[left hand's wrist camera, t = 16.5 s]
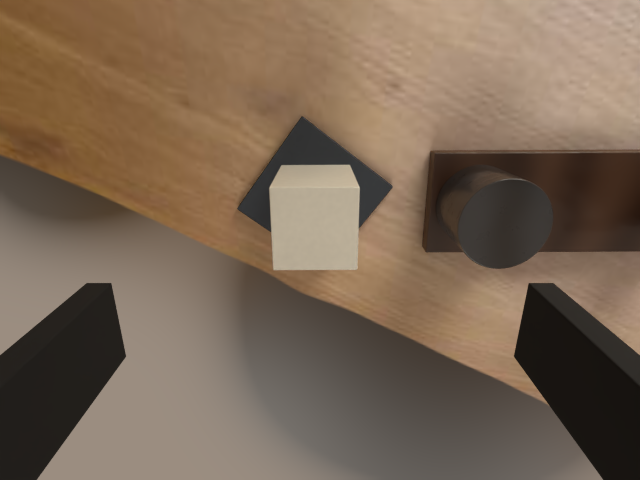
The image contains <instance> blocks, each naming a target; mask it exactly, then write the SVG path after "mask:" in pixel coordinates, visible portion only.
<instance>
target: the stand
mask: <svg viewBox="0 0 640 480" xmlns="http://www.w3.org/2000/svg"><path fill="white" fill-rule="evenodd" d="M422 247H423V248H424V250H425V251H426V252H464V253H465V254H466V255H467V256H468V257H469V258H470V259H471V260H472V261H474V262H475V263H477V264H479V265H481V266H484V267H488V268H496V269H501V268H509V267H513V266H516V265H518V264H521V263H523V262H525V261H527V260H528V259H530V258H531V257H532V256H534V255H535V254H536V253H537V252H602V251H640V150H461V151H431V153H430V164H429V176H428V187H427V198H426V210H425V221H424V233H423V244H422Z"/></svg>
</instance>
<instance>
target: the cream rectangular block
mask: <svg viewBox="0 0 640 480" xmlns="http://www.w3.org/2000/svg"><path fill="white" fill-rule="evenodd" d="M269 195H270V216H271V237H272V258H273V270H357V263H358V229H359V196H360V187H359V185H358V183H357V180H356V178H355V176H354V173H353V171H352V169H351V166H350V165H281V167H280V169H279V171H278V173H277V174H276V176H275V178H274V180H273V182H272V184H271V186H270V187H269Z"/></svg>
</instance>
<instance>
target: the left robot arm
mask: <svg viewBox="0 0 640 480" xmlns="http://www.w3.org/2000/svg"><path fill="white" fill-rule="evenodd" d="M125 357H126V354H125V349H124V344H123V339H122V334H121V329H120V325H119V319H118V315H117V310H116V305H115V300H114V295H113V290H112V285H111V283H87V284H85V285H84V286H83V287H82V288H80V289H79V290H78V291H77V292H76V293H75V294H73V295H72V296H71V297H70V298H68V299H67V300H66V301H65V302H64V303H62V304H61V305H60V306H59V307H58V308H56V309H55V310H54V311H53V312H52V313H50V314H49V315H48V316H47V317H46V318H44V319H43V320H42V321H41V322H40V323H38V324H37V325H36V326H35V327H34V328H33V329H31V330H30V331H29V332H28V333H26V334H25V335H24V336H23V337H22V338H20V339H19V340H18V341H17V342H16V343H15V344H13V345H12V346H11V347H10V348H9V349H7V350H6V351H5V352H4V353H2V354H1V355H0V480H37V479H38V477H39V476H40V474H41V473H42V472H43V470H44V469H45V467H46V466H47V465H48V463H49V462H50V461H51V459H52V458H53V456H54V455H55V454H56V452H57V451H58V450H59V448H60V447H61V445H62V444H63V443H64V441H65V440H66V439H67V437H68V436H69V434H70V433H71V432H72V430H73V429H74V427H75V426H76V425H77V423H78V422H79V421H80V419H81V418H82V416H83V415H84V414H85V412H86V411H87V410H88V408H89V407H90V405H91V404H92V403H93V401H94V400H95V399H96V397H97V396H98V394H99V393H100V392H101V390H102V389H103V387H104V386H105V385H106V383H107V382H108V381H109V379H110V378H111V376H112V375H113V374H114V372H115V371H116V370H117V368H118V367H119V365H120V364H121V363H122V361H123V360H124V359H125ZM514 357H515V359H516V360H517V361H518V363H519V364H520V365H521V367H522V368H523V370H524V371H525V372H526V374H527V375H528V376H529V378H530V379H531V381H532V382H533V383H534V385H535V386H536V387H537V389H538V390H539V392H540V393H541V394H542V396H543V397H544V399H545V400H546V401H547V403H548V404H549V405H550V407H551V408H552V410H553V411H554V412H555V414H556V415H557V416H558V418H559V419H560V421H561V422H562V423H563V425H564V426H565V427H566V429H567V430H568V432H569V433H570V434H571V436H572V437H573V439H574V440H575V441H576V443H577V444H578V445H579V447H580V448H581V450H582V451H583V452H584V454H585V455H586V456H587V458H588V459H589V461H590V462H591V463H592V465H593V466H594V467H595V469H596V470H597V471H598V473H599V474H600V476H601V477H602V479H603V480H640V355H639V354H638V353H636V352H635V351H634V350H633V349H632V348H630V347H629V346H628V345H627V344H626V343H624V342H623V341H622V340H621V339H620V338H618V337H617V336H616V335H615V334H614V333H612V332H611V331H610V330H609V329H608V328H606V327H605V326H604V325H603V324H602V323H600V322H599V321H598V320H597V319H596V318H594V317H593V316H592V315H591V314H590V313H588V312H587V311H586V310H585V309H584V308H582V307H581V306H580V305H579V304H578V303H576V302H575V301H574V300H573V299H572V298H570V297H569V296H568V295H567V294H566V293H564V292H563V291H562V290H561V289H560V288H558V287H557V286H556V285H555V284H554V283H529V285H528V290H527V295H526V300H525V305H524V310H523V314H522V319H521V324H520V329H519V334H518V339H517V344H516V349H515V354H514Z"/></svg>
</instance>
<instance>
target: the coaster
mask: <svg viewBox="0 0 640 480" xmlns="http://www.w3.org/2000/svg"><path fill="white" fill-rule="evenodd" d="M281 165H350V166H351V169H352V171H353V173H354V176H355V178H356V180H357V183H358V185H359V187H360V196H359V228H360V226H361V225H362V224H363V223H364V222H365V220H366V219H367V218H368V217H369V215H370V214H371V213H372V212H373V211H374V209H375V208H376V207H377V206H378V204H379V203H380V202H381V201H382V200H383V198H384V197H385V196H386V195H387V193H388V192H389V191H390V190H391V189H392V185H391V184H389V183H388V182H387V181H385V180H384V179H383V178H382V177H380V176H379V175H378V174H376V173H375V172H374V171H372V170H371V169H370V168H369V167H367V166H366V165H365V164H363V163H362V162H361V161H360V160H358V159H357V158H356V157H354V156H353V155H352V154H350V153H349V152H348V151H347V150H345V149H344V148H343V147H341V146H340V145H339V144H337V143H336V142H335V141H334V140H332V139H331V138H330V137H328V136H327V135H326V134H325V133H323V132H322V131H321V130H319V129H318V128H317V127H315V126H314V125H313V124H312V123H310V122H309V121H308V120H306V119H305V118H304V117H301V118H300V120H299V121H298V122H297V124H296V125H295V127H294V128H293V130H292V131H291V132H290V134H289V135H288V137H287V138H286V140H285V141H284V142H283V144H282V145H281V147H280V148H279V150H278V151H277V152H276V154H275V155H274V157H273V158H272V160H271V161H270V162H269V164H268V165H267V167H266V168H265V170H264V171H263V172H262V174H261V175H260V177H259V178H258V180H257V181H256V182H255V184H254V185H253V187H252V188H251V190H250V191H249V192H248V194H247V195H246V197H245V198H244V200H243V201H242V202H241V204H240V205H239V207H238V208H237V209H238V210H239V211H241V212H242V213H244V214H245V215H247V216H248V217H250V218H251V219H253V220H254V221H255V222H257V223H258V224H260V225H261V226H263V227H264V228H266V229H267V230H269V231H270V232H271V216H270V195H269V187H270V186H271V184H272V182H273V180H274V178H275V176H276V174H277V173H278V171H279V169H280V167H281Z"/></svg>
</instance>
